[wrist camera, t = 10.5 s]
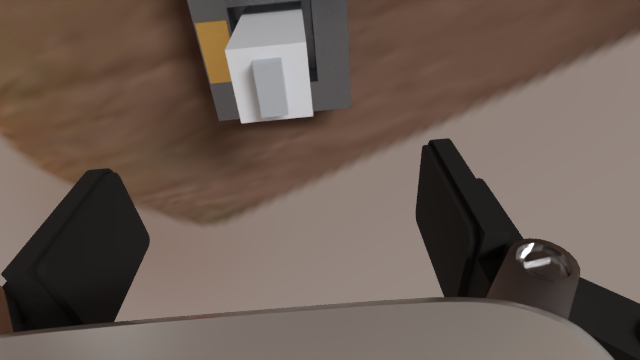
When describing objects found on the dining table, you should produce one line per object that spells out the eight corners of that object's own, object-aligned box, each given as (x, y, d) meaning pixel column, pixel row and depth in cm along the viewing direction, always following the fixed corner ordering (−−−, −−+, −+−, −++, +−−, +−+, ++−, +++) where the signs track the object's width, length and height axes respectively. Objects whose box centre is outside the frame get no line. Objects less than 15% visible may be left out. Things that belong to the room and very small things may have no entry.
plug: (301, 2, 26) (306, 46, 17) (306, 59, 28) (314, 122, 20) (244, 8, 26) (222, 55, 17) (255, 64, 28) (239, 130, 20)
